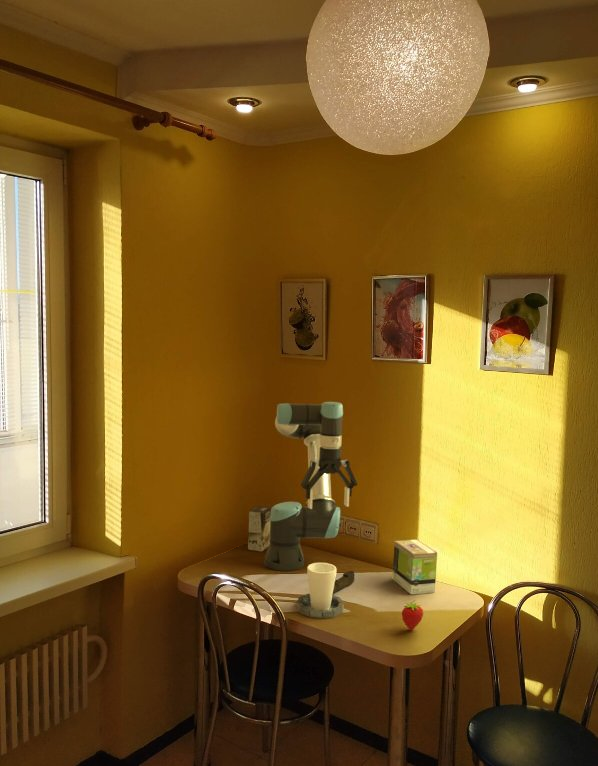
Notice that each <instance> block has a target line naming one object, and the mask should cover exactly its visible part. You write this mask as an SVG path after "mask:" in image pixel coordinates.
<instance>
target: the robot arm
mask: <svg viewBox="0 0 598 766" xmlns="http://www.w3.org/2000/svg"><path fill="white" fill-rule="evenodd" d="M343 406H344V405H343V404H342V403H341V402H337V401H324V402H322V403H318V404H317V403H314V404H313V403H289V402H285V403H278V404H277V407H276V417H275V420H274V427H275V429H276V431H277V432H278V433H279V434H280V435H282V436H285V437H287V438H290V439H291V438H292V439H297V440H299V439H300V440H303V444H304V445H305V446H306V447H307V460H308V461H307V464H308V465H307V466H308V467H307V468H308V469H307V470H306V473H305V474H304V477H303V479H302V480H301V483H300V487H301V488H302V489H305V499H306V500H307V501H306V502H305V506H302V504H301V503H300V502H298V501H284V502H280V503H277V504H275V505H273V506H271V515H270V544H269V546H268V547H267V551H266V553H265V555H264V565H265V567H266V568H268V569H271V570H274V571H280V572H281V571H282V572H283V571H285V572H290V571H296V570H299V569H301V568H303V567H304V565H305V558H304V554H303V550H302V546H301V539H325V540H326V539H333V538H335V537H337V536H338V533H339V529H340V520H341V508H340V507H339V506H336V505H337V503H336V501H335V500H334V499H333V498H332V485H331V484H332V483H331V482H332V481H331V475H334V474H337V475H338V477H339V478H340V479H341V480H342V482H344V484H345V485H346V486H344V493H343V495H344V497H343V498H344V499H343V505H344V506H345V507H347V508H348V507H350V497H352V496H353V495H352V492H353V490H352V489H353V488H354V487H357V486H358V483H357V480H356V478H355V475H354V472H353V471H352V468H351V465H350V461H349V460H348V459H346V458H345V459H343V460H341V459H342V448H341V447H342V442H343V441H342V436H343V431H342V430H343V415H344V408H343ZM342 466H343V467H344V469H345V472H346V474H347V476H345V474H344V473H343V471H342V470H341V469H340V467H342ZM347 477H348V478H349V479H348V478H347Z"/></svg>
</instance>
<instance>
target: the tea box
mask: <svg viewBox="0 0 598 766" xmlns="http://www.w3.org/2000/svg"><path fill="white" fill-rule="evenodd" d="M437 560H438V552H437V551H436V550H435V549H433V548H431V547H430V546H429V545H427V544H425V543H424V542H423V541H421V540H419V539H407V540H394V544H393V565H392V580H393V581H395V583H396V584H398V585H399V586H400V587H401V588H403V589H404V590H405V591H406V592H407V593H408V594H410V595H422V594H431V593H435V592H436V582H437V581H436V579H437V578H436V577H437V564H438V561H437Z"/></svg>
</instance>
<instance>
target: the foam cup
mask: <svg viewBox="0 0 598 766" xmlns="http://www.w3.org/2000/svg"><path fill="white" fill-rule="evenodd" d="M306 574H307V578H308V580H307V581H308V589H309V594H310V601H311V607H312V608H313V609H316V610H327V609H329V608H330V605H331V600H332V595H333V594H334V593H333V588H334V583H335V580H336V578H337V577H336V576H337V567H336V566H335V565H334V564H331V563H328V562H313V563H311V564H308V566H307V571H306Z"/></svg>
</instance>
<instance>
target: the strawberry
mask: <svg viewBox="0 0 598 766" xmlns="http://www.w3.org/2000/svg"><path fill="white" fill-rule="evenodd" d="M414 601H416V600H413V601H412V602H410V603H408V602H407V603H406V602H405V604H406V605H404V606H403V607H404V608H403V609H402V611H401V617H402V621H403V623H404V625H405V626H406V627H407V629H408V630H409V631H410V632H411V631H413V630H414V629H415V628H416V627H417V626H419V624H420V623H421V621H422V619H423V617H424V610H423V608H422V607H421V604H417V602H414ZM413 602H414V603H413Z"/></svg>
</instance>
